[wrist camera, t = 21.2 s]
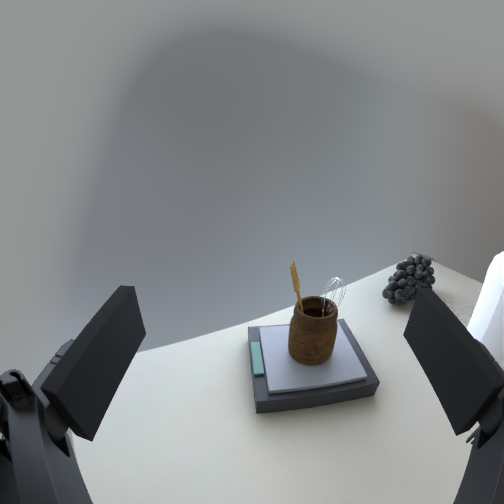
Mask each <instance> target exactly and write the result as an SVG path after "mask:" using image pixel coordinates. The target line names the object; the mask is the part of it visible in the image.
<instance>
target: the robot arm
mask: <svg viewBox="0 0 504 504" xmlns="http://www.w3.org/2000/svg"><path fill="white" fill-rule="evenodd" d="M145 335H146V332H145V328H144V325H143V321H142V317H141V313H140V309H139V305H138V301H137V296H136V292H135V287H134V286H120V287H119V288H118V289H117V290H116V291H115V292H114V293H113V295H112V296H111V297H110V298H109V299H108V300H107V301H106V303H105V304H104V305H103V306H102V307H101V309H100V310H99V311H98V312H97V313H96V315H95V316H94V317H93V318H92V319H91V321H90V322H89V323H88V324H87V325H86V327H85V328H84V329H83V330H82V332H81V333H80V334H79V335H78V337H77V338H76V339H75V340H72V339H71V340H69V341H68V342H66V343H65V344H64V345H62V346H61V347H60V349H59V350H58V351H57V352H56V354H55V356H53V358H52V359H51V360H50V363H48V364H47V365H46V367H45V368H44V370H43V371H42V372H41V374H40V375H39V376H38V378H37V379H36V380H35V382H34V383H33V385H32V386H30V384H29V383H28V381H27V380H26V378H25V377H24V375H23V374H22V373H21V372H20V371H19V370H16V369H14V370H8V371H6V372H4V373H3V374H2V375H1V376H0V433H2V439H0V504H93V503H92V500H91V498H90V496H89V493H88V491H87V489H86V486H85V483H84V481H83V478H82V476H81V473H80V470H79V467H78V464H77V461H76V458H75V455H74V452H73V448H72V445H71V441H70V438H69V436H68V434H67V433H66V432H67V430H68V428H69V427H70V429H71V430H72V431H73V432H74V433H75V435H77V436H79V437H82V438H84V439H87V440H89V441H93V439H94V437H95V434H96V432H97V430H98V428H99V426H100V424H101V421H102V419H103V417H104V415H105V413H106V411H107V409H108V407H109V405H110V403H111V401H112V399H113V397H114V394H115V392H116V390H117V388H118V386H119V384H120V383H121V381H122V379H123V377H124V375H125V373H126V371H127V369H128V367H129V365H130V363H131V361H132V359H133V357H134V355H135V354H136V352H137V350H138V348H139V346H140V344H141V342H142V341H143V339H144V337H145ZM403 335H404V337H405V339H406V340H407V342H408V344H409V345H410V347H411V349H412V350H413V352H414V354H415V356H416V357H417V359H418V361H419V363H420V365H421V366H422V368H423V370H424V372H425V374H426V375H427V377H428V379H429V381H430V383H431V385H432V387H433V389H434V391H435V393H436V395H437V396H438V398H439V400H440V402H441V404H442V407H443V409H444V411H445V413H446V415H447V417H448V419H449V421H450V423H451V425H452V428H453V430H454V432H455V434H456V436H457V435H459V434H462V433H464V432H466V431H468V430H470V429H471V428H472V427H473V425H474V424H475V423H476V422H477V421H478V422H479V424H480V426H479V427H478V428H477V429H476V430H475V431H474V432H473V433H472V434H471V435H470V437H469V438H468V439H467V441H466V443H468V442H469V441H470V440H471V439H472V438H473V437H474V440H473V441H472V442H471V444H473V445H472V449H471V453H470V457H469V460H468V464H467V467H466V470H465V473H464V476H463V479H462V482H461V485H460V488H459V490H458V493H457V496H456V498H455V501H454V503H453V504H504V371H503V369H502V368H501V366H500V365H499V364H498V362H497V361H495V358H494V357H493V356H492V354H491V355H490V352H489V351H488V349H487V348H486V347H485V345H483V344H482V343H481V342H479V341H478V340H477V339H474V337H473V336H472V335H471V334H470V332H469V331H468V330H467V329H466V328H465V326H464V325H463V324H462V323H461V322H460V321H459V319H458V318H457V317H456V316H455V315H454V314H453V312H452V311H451V310H450V309H449V308H448V307H447V306H446V305H445V303H444V302H443V301H442V300H441V299H440V298H439V297H438V296H437V295H436V294H435V293H434V291H433V290H432V289H431V288H424V289H418V292H417V295H416V298H415V302H414V305H413V308H412V311H411V314H410V317H409V320H408V323H407V326H406V329H405V332H404V334H403Z"/></svg>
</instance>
